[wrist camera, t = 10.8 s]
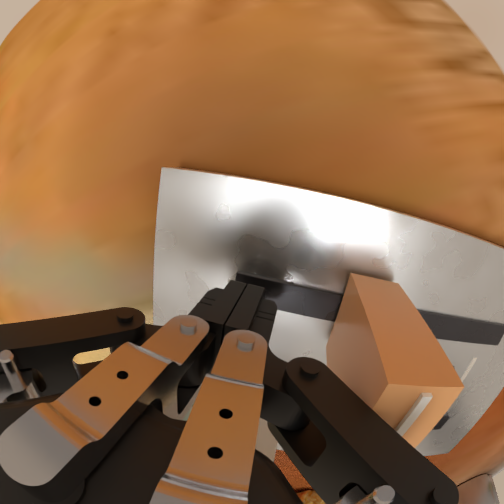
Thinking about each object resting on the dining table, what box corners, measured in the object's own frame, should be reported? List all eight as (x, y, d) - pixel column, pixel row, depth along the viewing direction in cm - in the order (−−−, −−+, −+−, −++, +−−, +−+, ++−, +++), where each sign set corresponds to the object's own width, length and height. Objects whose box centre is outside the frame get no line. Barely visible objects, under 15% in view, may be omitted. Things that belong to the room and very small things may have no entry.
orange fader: (398, 283, 11) (466, 390, 4) (369, 353, 12) (393, 472, 6) (350, 272, 11) (389, 388, 5) (325, 346, 13) (326, 472, 6)
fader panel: (544, 265, 10) (559, 274, 8) (444, 439, 16) (448, 454, 14) (177, 167, 14) (159, 167, 12) (168, 400, 20) (158, 416, 18)
